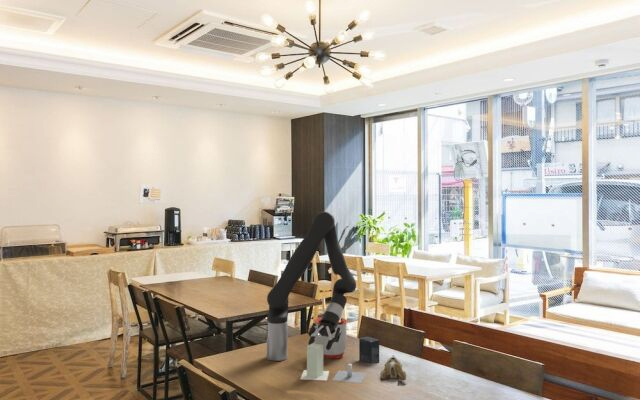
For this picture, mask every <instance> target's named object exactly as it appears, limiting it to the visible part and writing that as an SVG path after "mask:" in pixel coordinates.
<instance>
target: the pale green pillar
mask: <svg viewBox="0 0 640 400" xmlns="http://www.w3.org/2000/svg"><path fill="white" fill-rule="evenodd" d="M306 370H307V376H310V377H315V378H318V377H320V376H321V375H323V371H324V358H323V345H321V344H315V342H314V343H312V344H310V345H309V344H308V345H306Z"/></svg>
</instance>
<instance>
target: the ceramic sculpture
mask: <svg viewBox="0 0 640 400" xmlns="http://www.w3.org/2000/svg"><path fill="white" fill-rule="evenodd" d="M388 378H390V379H399V380H400V381H406V379H407V372H406V371H405V370H404V369H403V364H402V363H401V361H400V360H399V359H398V358H397V357H396V356H395V355H391V357H390V356H389V358H388V359H387V360H386V361H385V363H384V369H381V372H380V379H381V380H387V379H388Z"/></svg>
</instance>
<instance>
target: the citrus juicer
mask: <svg viewBox="0 0 640 400" xmlns="http://www.w3.org/2000/svg"><path fill="white" fill-rule="evenodd" d="M322 317H323V316H322ZM322 317H321V316H320V317H317V318H316V319H314V323H315V324H316V325H319V324H320V323H321V319H322ZM347 323H348V320H347V319H346V318H342V319H340V321H339V323H338V325H337V327H336V328H338V327H340V329H341V331H342V332H341V335H340V338H339V341H338V342H334V343H333V344H332V347H331V349H329V350H327V349H326V346H327V343H328V341H329V340H330V339H329V336H328V337H326V336H320V337H317V338H316V339H315V341H314V343H315V344H321V345H323V359H329V360H337V359H340V358H342V357H343V356H344V355H345V354H344V353H345V351H346V345H347V329H348V327H347ZM317 329H318V328H317ZM318 334H319V332H318ZM335 334H336V331H335V332H334V333H333V334H332V335H333V338H334V337H335Z"/></svg>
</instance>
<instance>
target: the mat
mask: <svg viewBox="0 0 640 400" xmlns="http://www.w3.org/2000/svg"><path fill="white" fill-rule="evenodd" d="M329 375H330V370H323V375H321V376H320V377H318V378H315V377H310V376H307V369H304V370H303V371H302V374H301V376H300V380H305V381H306V380H310V381H326V382H327V381H328V378H329Z"/></svg>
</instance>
